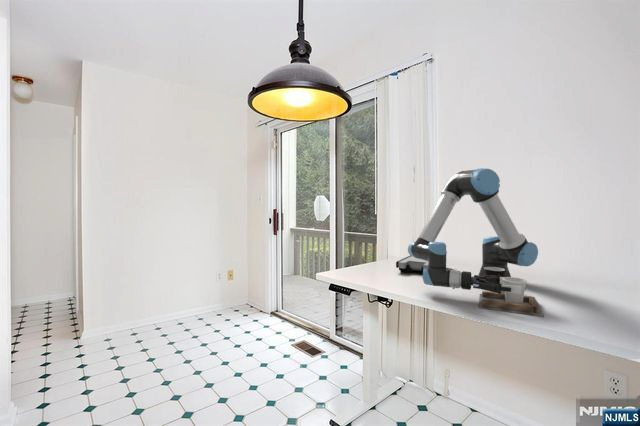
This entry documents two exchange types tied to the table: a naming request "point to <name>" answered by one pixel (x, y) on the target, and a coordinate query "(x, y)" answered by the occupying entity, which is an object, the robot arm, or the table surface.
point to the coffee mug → (494, 272)
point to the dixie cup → (513, 296)
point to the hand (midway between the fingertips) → (519, 285)
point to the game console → (411, 264)
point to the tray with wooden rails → (509, 304)
